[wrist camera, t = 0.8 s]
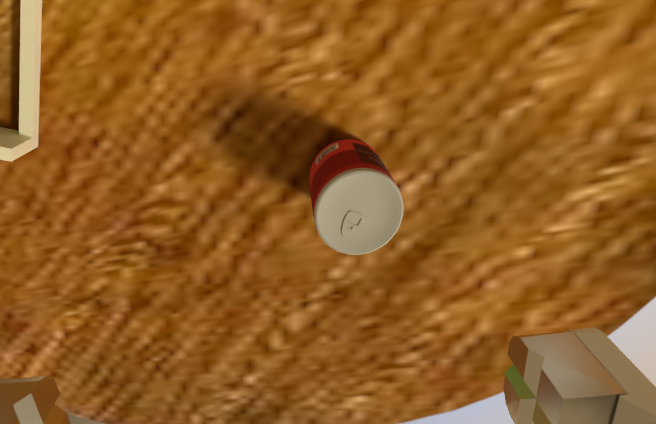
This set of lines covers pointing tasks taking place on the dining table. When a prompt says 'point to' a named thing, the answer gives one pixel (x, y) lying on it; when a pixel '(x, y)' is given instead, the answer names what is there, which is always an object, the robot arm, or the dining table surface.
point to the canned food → (354, 198)
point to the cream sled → (26, 85)
